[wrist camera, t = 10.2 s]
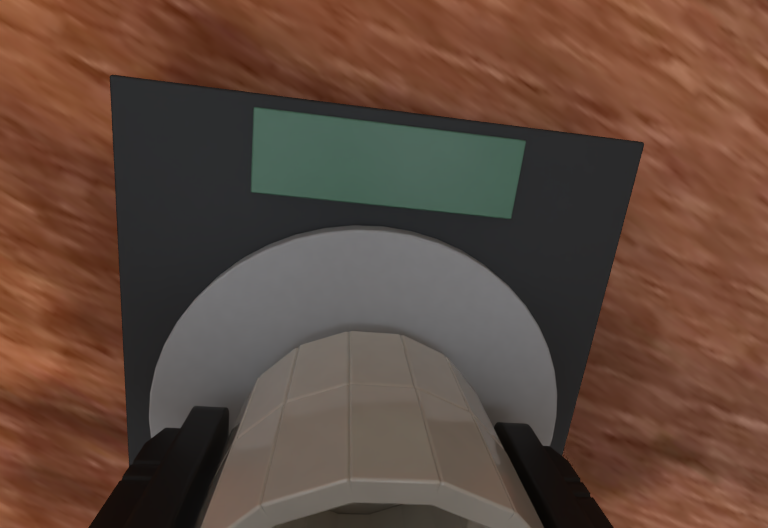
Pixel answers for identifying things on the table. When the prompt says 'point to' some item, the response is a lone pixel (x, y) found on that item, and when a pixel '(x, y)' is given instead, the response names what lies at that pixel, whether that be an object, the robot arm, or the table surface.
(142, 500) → the robot arm
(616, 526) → the table surface
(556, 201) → the scale
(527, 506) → the white cup
